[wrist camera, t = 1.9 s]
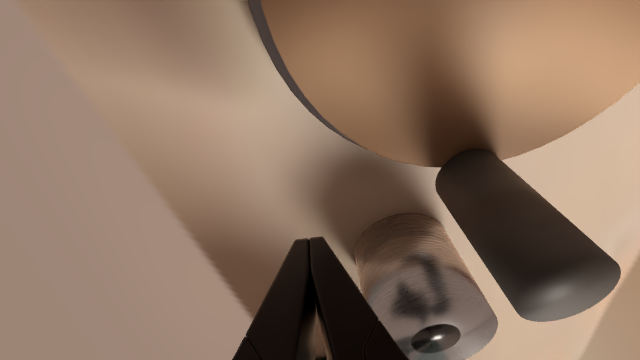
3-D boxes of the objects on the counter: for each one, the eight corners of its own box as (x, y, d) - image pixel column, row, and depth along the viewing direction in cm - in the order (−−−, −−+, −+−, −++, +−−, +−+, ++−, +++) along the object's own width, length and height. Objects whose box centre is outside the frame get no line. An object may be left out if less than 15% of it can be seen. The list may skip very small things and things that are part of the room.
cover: (440, 274, 18) (484, 363, 14) (355, 284, 18) (374, 377, 14) (452, 207, 16) (512, 293, 11) (352, 219, 16) (375, 310, 11)
